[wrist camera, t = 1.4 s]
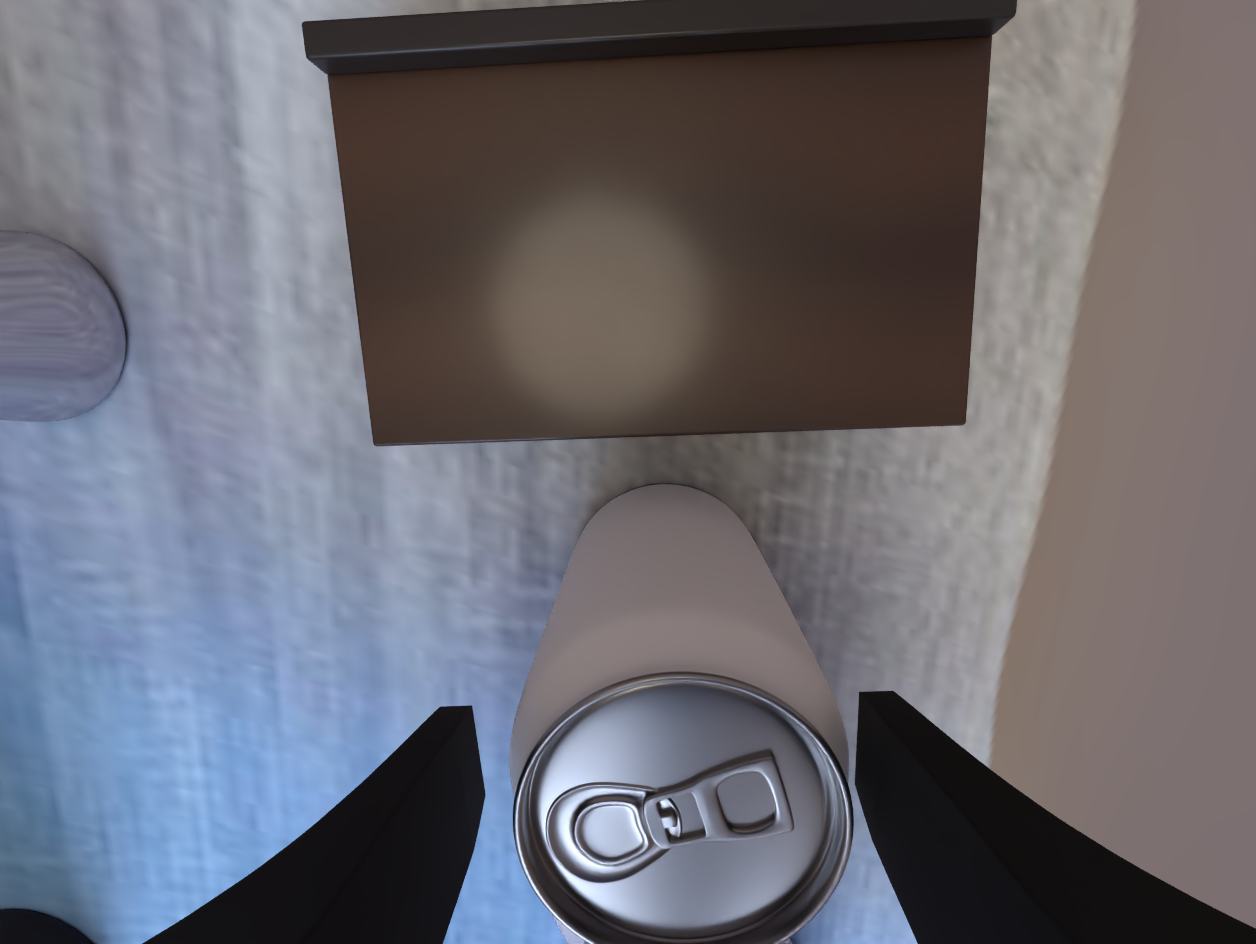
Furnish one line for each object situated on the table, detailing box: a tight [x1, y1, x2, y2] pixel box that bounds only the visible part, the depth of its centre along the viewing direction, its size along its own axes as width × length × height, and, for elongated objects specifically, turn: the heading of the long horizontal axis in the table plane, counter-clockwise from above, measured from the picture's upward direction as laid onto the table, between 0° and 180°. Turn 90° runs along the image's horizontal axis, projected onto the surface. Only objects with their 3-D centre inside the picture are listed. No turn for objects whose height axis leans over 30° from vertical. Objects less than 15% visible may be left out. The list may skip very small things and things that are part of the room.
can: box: [509, 484, 854, 944], centre depth 16 cm, size 6×6×12 cm
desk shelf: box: [302, 0, 1017, 446], centre depth 18 cm, size 10×16×5 cm, turn 92°
